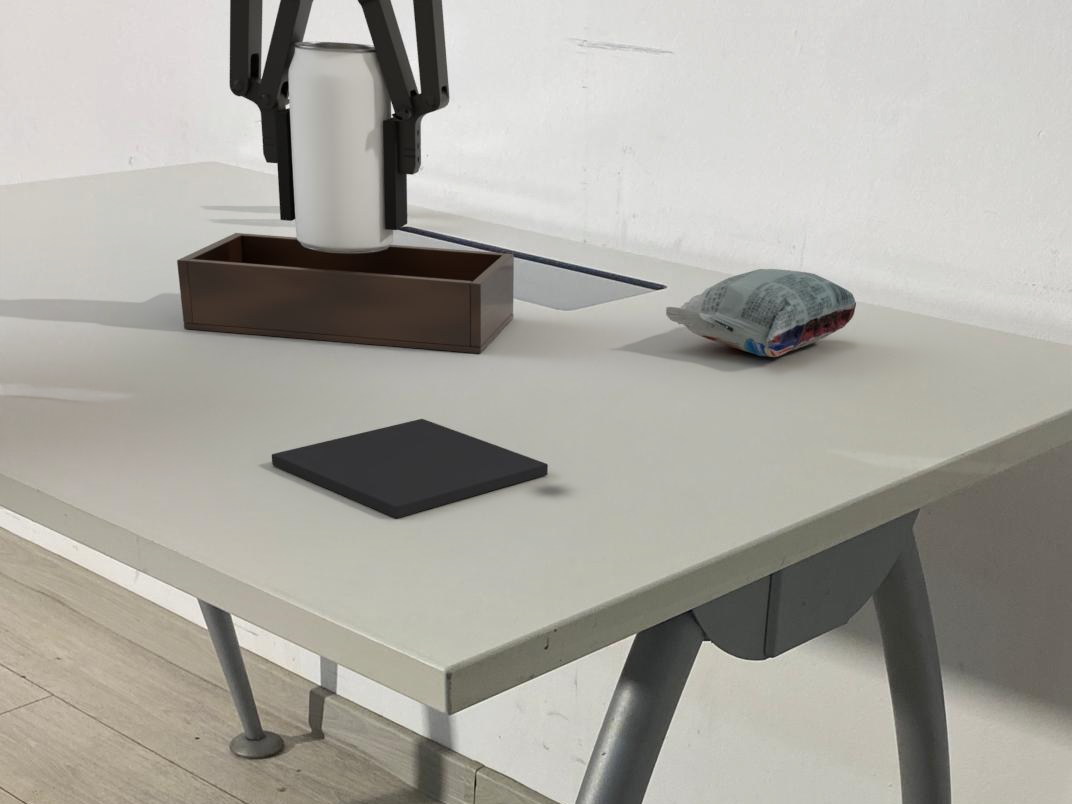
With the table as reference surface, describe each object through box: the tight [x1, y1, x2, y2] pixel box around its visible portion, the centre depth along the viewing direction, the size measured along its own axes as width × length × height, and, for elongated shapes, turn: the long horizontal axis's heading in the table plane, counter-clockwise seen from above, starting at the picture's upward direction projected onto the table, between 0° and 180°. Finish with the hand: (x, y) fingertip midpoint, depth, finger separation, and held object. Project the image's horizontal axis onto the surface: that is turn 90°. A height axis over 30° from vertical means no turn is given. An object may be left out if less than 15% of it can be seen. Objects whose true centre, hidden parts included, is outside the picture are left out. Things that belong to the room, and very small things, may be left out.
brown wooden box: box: [176, 232, 515, 354], centre depth 98 cm, size 20×10×4 cm, turn 81°
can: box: [288, 41, 394, 254], centre depth 93 cm, size 6×6×12 cm
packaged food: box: [665, 268, 857, 358], centre depth 97 cm, size 9×12×5 cm
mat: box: [271, 418, 549, 519], centre depth 73 cm, size 10×10×1 cm
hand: (344, 221), depth 96 cm, fingers closed on can, 6 cm apart
